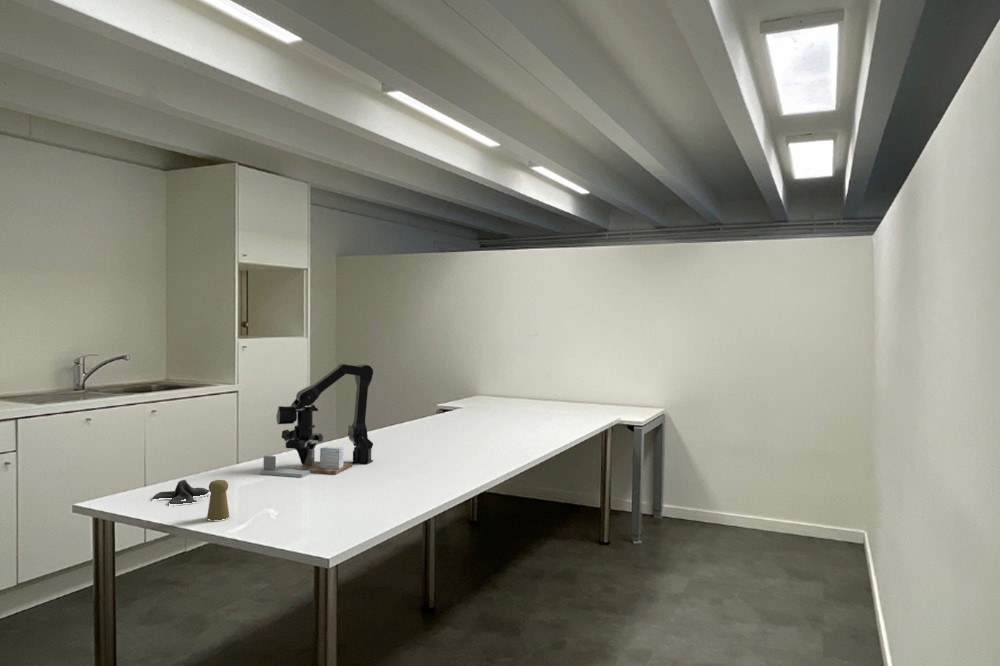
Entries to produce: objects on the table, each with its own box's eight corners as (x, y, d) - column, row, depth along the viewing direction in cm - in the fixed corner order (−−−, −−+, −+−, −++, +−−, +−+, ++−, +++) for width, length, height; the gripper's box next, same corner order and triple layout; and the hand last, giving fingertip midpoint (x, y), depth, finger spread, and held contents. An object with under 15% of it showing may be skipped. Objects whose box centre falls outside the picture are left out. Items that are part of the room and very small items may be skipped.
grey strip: (310, 473, 254) (310, 457, 253) (301, 477, 248) (302, 460, 248) (269, 470, 257) (269, 454, 257) (260, 474, 251) (260, 457, 251)
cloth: (180, 510, 206) (180, 490, 206) (136, 503, 213) (137, 483, 213) (235, 493, 227) (235, 475, 226) (194, 487, 234) (194, 469, 234)
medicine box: (343, 469, 262) (344, 447, 262) (338, 471, 257) (339, 448, 258) (324, 468, 263) (324, 446, 263) (319, 470, 259) (320, 447, 259)
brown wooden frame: (352, 466, 267) (352, 448, 266) (335, 474, 253) (335, 455, 253) (312, 464, 270) (312, 446, 270) (294, 471, 257) (294, 452, 256)
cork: (211, 515, 200) (211, 478, 200) (232, 515, 200) (232, 478, 200) (203, 521, 194) (204, 483, 194) (225, 521, 194) (226, 483, 194)
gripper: (298, 418, 274) (297, 456, 274) (273, 425, 256) (272, 466, 256) (323, 419, 271) (323, 458, 272) (299, 426, 253) (299, 468, 254)
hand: (304, 462), depth 263 cm, fingers closed
